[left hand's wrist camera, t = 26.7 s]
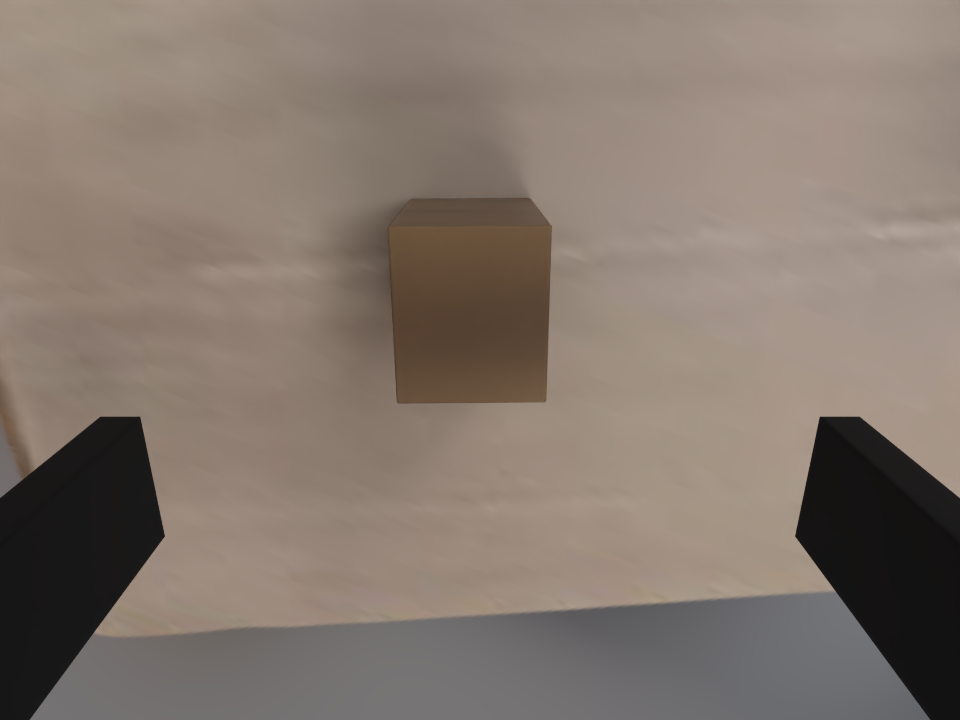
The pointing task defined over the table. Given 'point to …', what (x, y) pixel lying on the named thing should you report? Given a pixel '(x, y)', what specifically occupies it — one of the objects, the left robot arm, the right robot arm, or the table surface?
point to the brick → (470, 300)
